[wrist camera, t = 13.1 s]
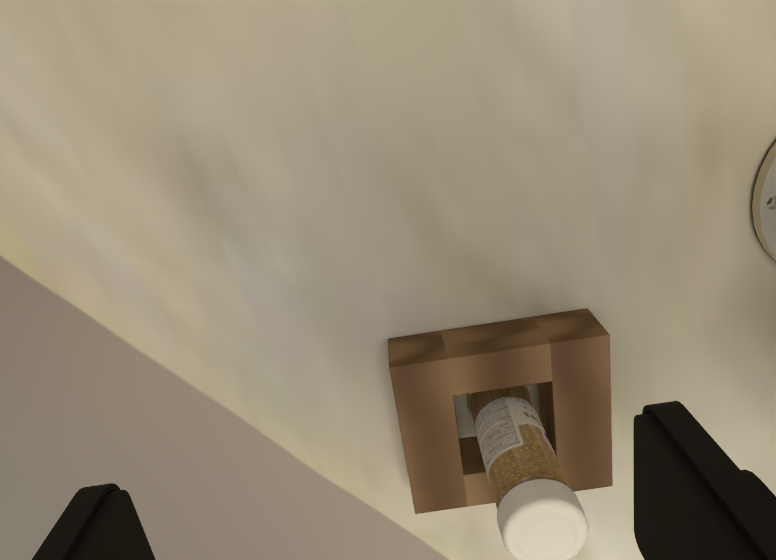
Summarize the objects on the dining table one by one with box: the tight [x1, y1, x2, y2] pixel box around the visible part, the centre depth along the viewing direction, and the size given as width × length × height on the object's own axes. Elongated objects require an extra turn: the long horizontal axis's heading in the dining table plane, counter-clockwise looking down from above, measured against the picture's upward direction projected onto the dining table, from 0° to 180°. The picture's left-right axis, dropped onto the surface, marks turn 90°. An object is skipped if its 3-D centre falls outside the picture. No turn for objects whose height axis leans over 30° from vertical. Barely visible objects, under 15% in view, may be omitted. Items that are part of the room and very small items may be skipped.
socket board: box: [388, 309, 612, 514], centre depth 41 cm, size 14×12×4 cm
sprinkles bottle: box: [468, 385, 588, 560], centre depth 37 cm, size 5×5×13 cm
